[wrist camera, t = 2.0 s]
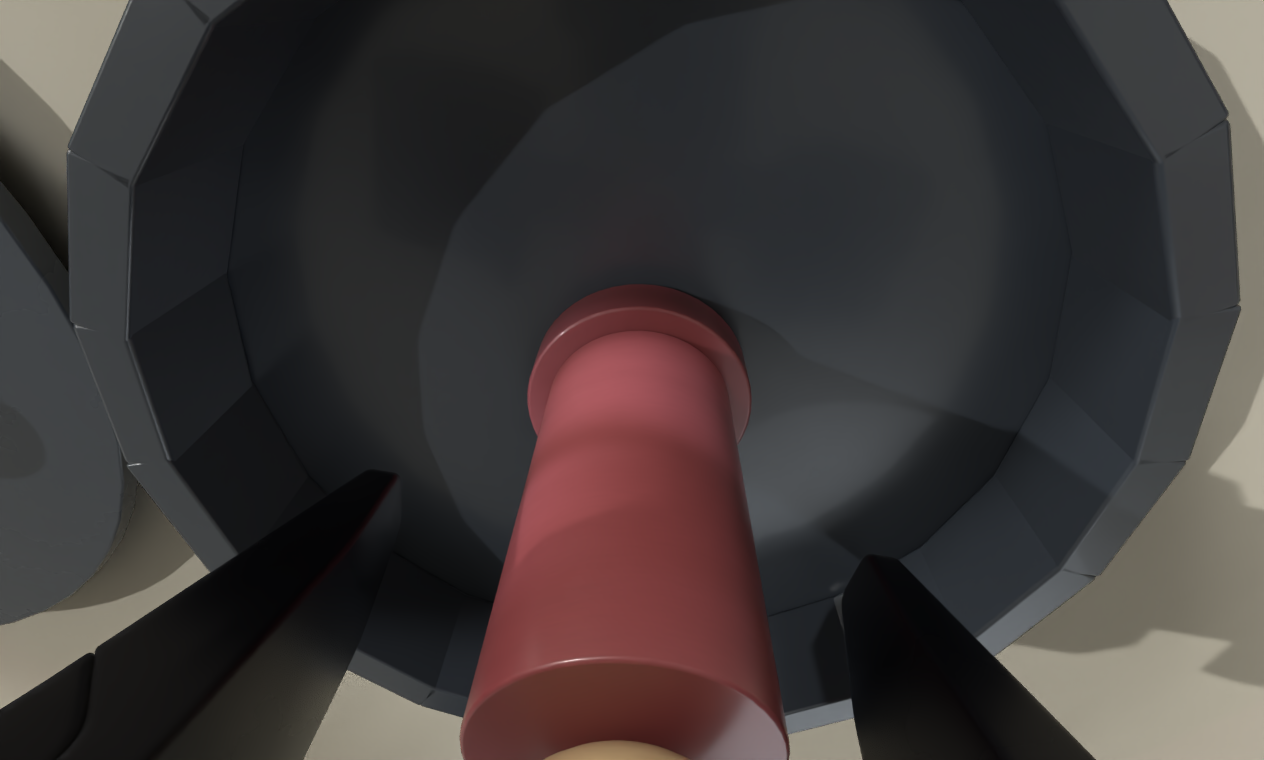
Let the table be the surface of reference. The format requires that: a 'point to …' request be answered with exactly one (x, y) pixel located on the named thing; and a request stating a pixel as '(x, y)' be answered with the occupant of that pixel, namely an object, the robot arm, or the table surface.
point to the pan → (662, 279)
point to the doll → (631, 551)
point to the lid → (50, 434)
